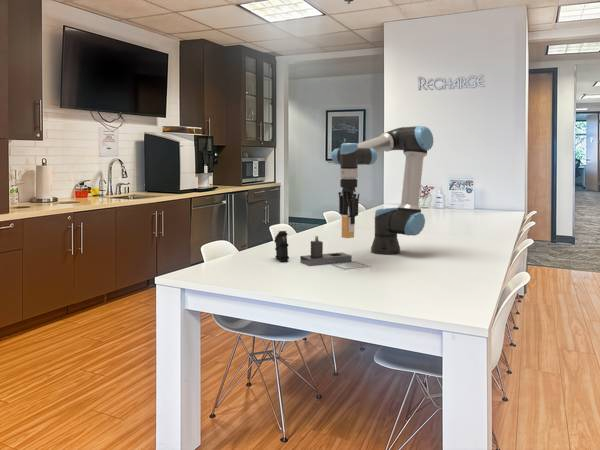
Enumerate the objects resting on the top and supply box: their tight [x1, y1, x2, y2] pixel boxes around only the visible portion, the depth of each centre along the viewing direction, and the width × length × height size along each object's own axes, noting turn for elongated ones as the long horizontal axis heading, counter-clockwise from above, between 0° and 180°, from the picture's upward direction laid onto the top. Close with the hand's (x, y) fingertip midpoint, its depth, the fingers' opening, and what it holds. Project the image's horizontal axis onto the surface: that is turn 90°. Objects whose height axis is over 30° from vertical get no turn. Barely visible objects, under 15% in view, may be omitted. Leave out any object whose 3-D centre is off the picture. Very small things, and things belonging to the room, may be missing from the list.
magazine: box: [273, 230, 290, 263], centre depth 243 cm, size 4×13×15 cm, turn 16°
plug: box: [341, 214, 355, 239], centre depth 231 cm, size 4×4×10 cm
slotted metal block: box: [299, 252, 353, 267], centre depth 239 cm, size 22×9×4 cm, turn 117°
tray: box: [329, 260, 372, 271], centre depth 231 cm, size 14×12×1 cm
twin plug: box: [310, 235, 324, 258], centre depth 236 cm, size 4×4×12 cm
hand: (348, 230), depth 231 cm, fingers closed on plug, 4 cm apart
